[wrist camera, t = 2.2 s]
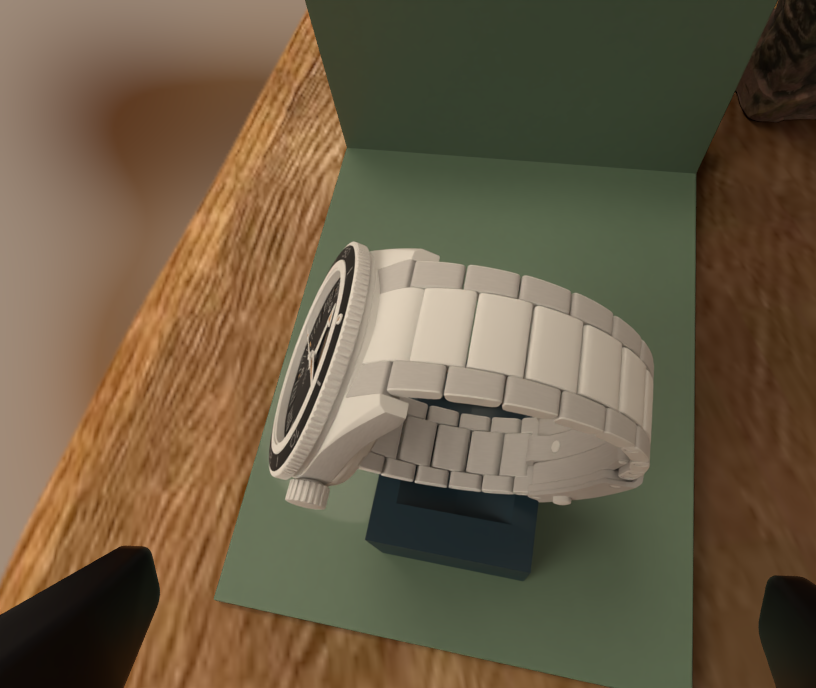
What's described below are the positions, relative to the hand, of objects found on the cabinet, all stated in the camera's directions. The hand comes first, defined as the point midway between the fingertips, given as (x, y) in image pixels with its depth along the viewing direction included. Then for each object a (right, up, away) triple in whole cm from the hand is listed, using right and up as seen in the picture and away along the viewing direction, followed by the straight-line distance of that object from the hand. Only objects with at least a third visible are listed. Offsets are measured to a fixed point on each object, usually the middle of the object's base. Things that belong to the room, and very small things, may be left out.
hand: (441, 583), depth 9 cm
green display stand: (+2, +4, +13) cm, 14 cm away
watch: (+1, -1, +11) cm, 11 cm away
